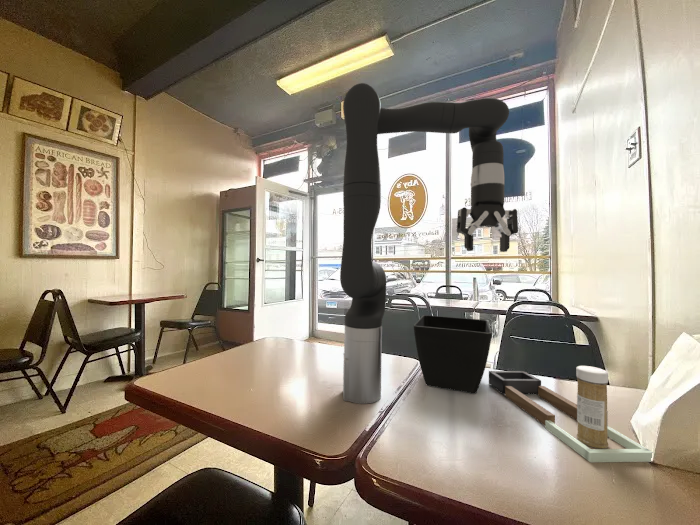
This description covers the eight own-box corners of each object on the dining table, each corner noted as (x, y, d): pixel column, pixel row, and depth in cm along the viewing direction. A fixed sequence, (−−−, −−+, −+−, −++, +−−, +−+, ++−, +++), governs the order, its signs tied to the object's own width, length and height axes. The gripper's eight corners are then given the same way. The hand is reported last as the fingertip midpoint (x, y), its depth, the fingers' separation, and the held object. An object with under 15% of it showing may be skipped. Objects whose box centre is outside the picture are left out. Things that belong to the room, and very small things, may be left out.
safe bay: (590, 462, 49) (590, 453, 49) (545, 428, 59) (545, 420, 59) (654, 461, 49) (654, 452, 49) (598, 427, 60) (598, 420, 60)
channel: (547, 428, 59) (547, 415, 59) (505, 396, 74) (505, 385, 74) (595, 427, 60) (595, 415, 60) (543, 396, 75) (543, 386, 75)
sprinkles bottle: (612, 444, 54) (612, 370, 54) (603, 453, 51) (603, 374, 52) (581, 432, 58) (581, 363, 58) (571, 439, 55) (572, 367, 55)
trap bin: (502, 394, 75) (503, 380, 75) (488, 383, 82) (488, 371, 82) (541, 394, 76) (541, 380, 76) (523, 383, 83) (523, 371, 83)
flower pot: (491, 402, 70) (492, 331, 71) (411, 389, 77) (412, 324, 78) (487, 376, 88) (487, 319, 88) (422, 367, 95) (423, 315, 95)
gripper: (465, 180, 69) (465, 249, 69) (524, 182, 70) (524, 251, 69) (453, 189, 77) (452, 251, 76) (506, 190, 77) (506, 252, 77)
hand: (486, 251), depth 73 cm, fingers open, 8 cm apart
